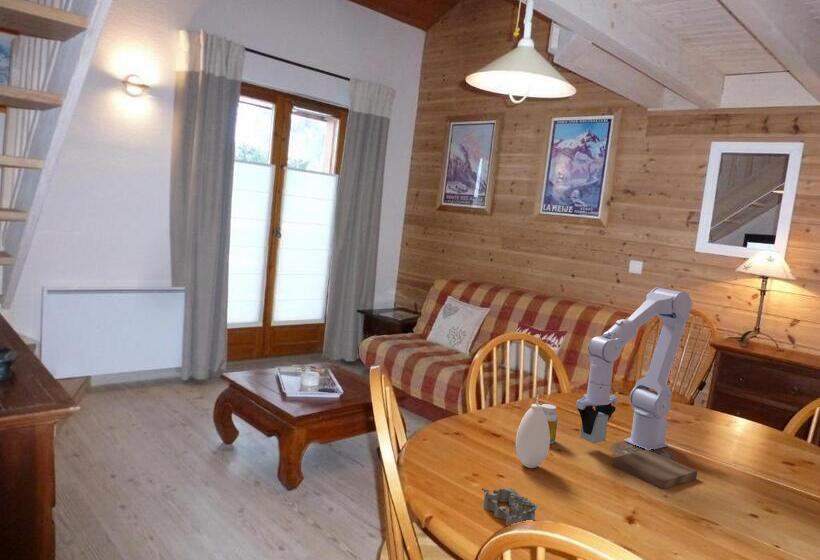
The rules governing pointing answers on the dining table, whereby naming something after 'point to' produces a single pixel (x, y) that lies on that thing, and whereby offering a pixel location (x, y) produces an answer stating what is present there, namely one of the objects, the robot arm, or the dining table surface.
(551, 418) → the supplement bottle
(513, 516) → the grey hollow block
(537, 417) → the sauce bottle
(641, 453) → the walnut board
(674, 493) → the dining table surface
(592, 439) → the blue-grey block
